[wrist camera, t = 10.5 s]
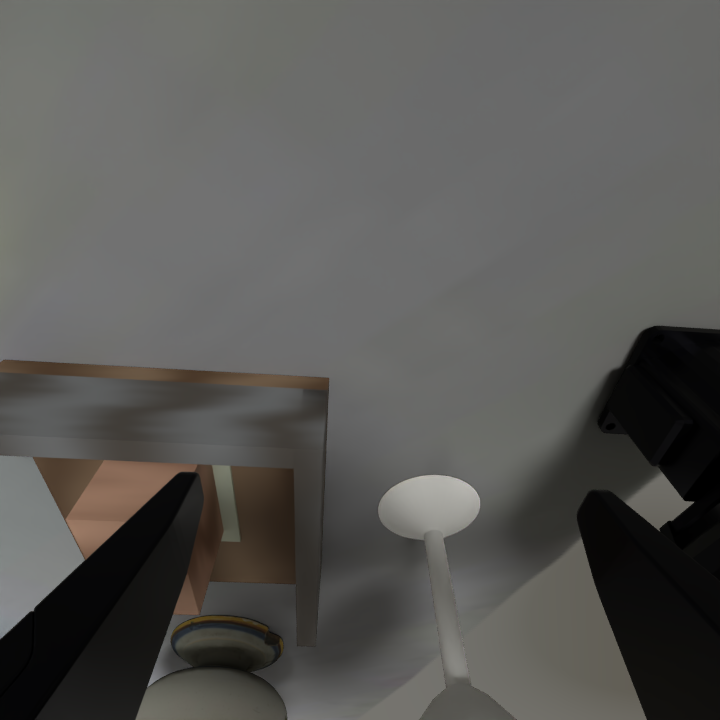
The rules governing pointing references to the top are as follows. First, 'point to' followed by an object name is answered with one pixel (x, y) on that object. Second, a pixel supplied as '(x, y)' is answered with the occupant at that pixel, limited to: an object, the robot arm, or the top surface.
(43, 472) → the brown rimmed piece
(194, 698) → the apothecary jar
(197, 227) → the top surface
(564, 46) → the top surface
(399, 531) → the champagne flute
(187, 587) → the block
